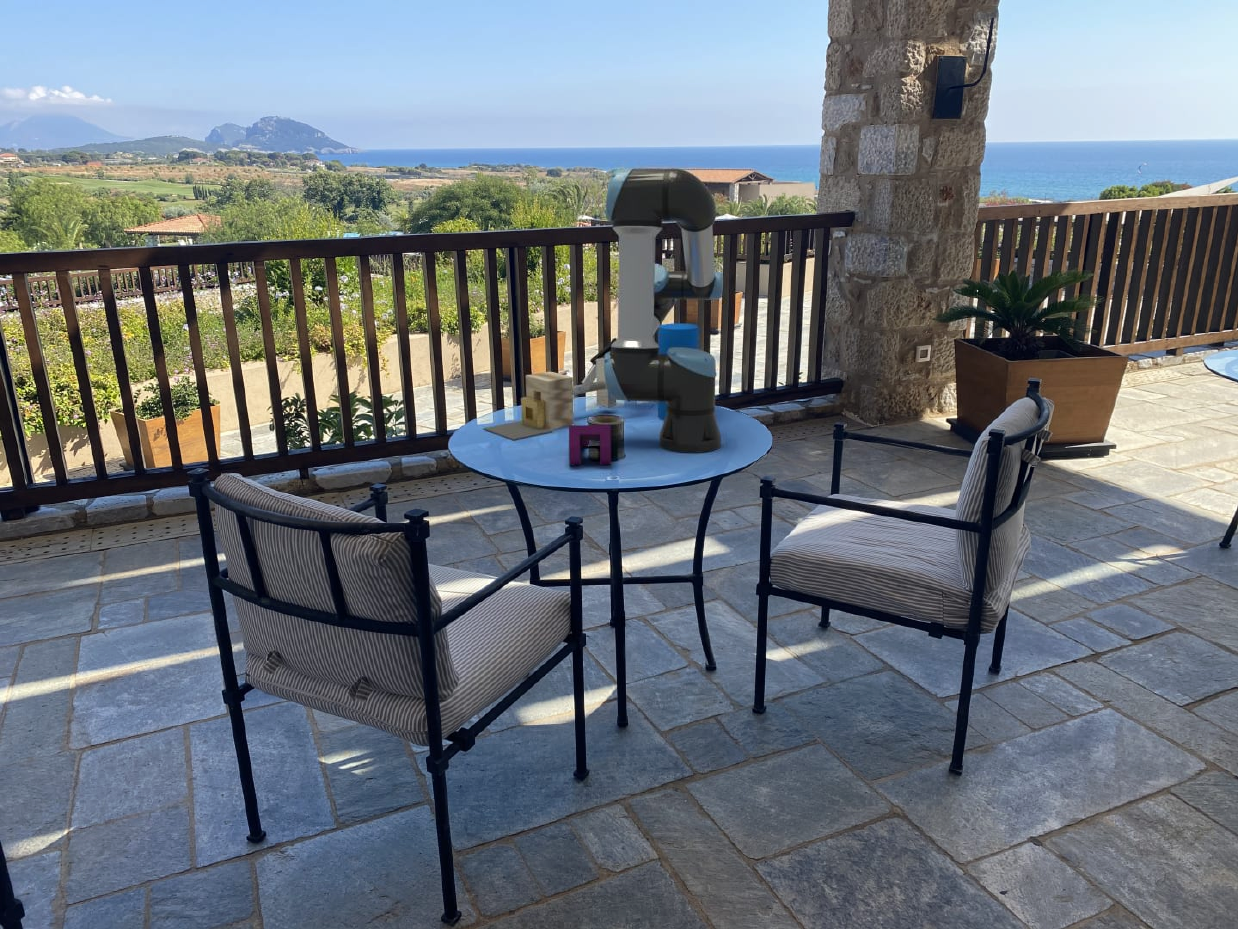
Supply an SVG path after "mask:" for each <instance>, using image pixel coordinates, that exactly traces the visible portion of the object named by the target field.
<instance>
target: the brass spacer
mask: <svg viewBox="0 0 1238 929" xmlns="http://www.w3.org/2000/svg"><path fill="white" fill-rule="evenodd" d="M520 404H521V406H520V407H521V408H520V410H521V420H522V424H523V425H526V426H529V427H531V428H534V429H537V430H538V429H543V428H545V406H544V401H542V400H539V399H535V398H532V397H529V396H528V397H526V396H524V397H521V398H520Z"/></svg>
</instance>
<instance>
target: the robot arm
mask: <svg viewBox="0 0 1238 929" xmlns="http://www.w3.org/2000/svg"><path fill="white" fill-rule="evenodd" d="M605 217H606V220H607V221H609V222H612V229H613V231H614V232H615V233H616V234H617V235H618V289H617V290H618V291H617V292H618V295H617V298H618V300H617V303H618V304H617V338H616V337H614V338H613V339H612V340H611V341H610V342H609V343H608V344H607V345H606V346H605V347H604V348H602V350H600V351H599V352H598V353H597V354H595V355H594V356H593V357H592V358H590V360H589V362H590V363H591V364H592V366H591V368H589V370H588V372H587V374H586V376H585V377H584V378H583V380H582V381H581V383H582V384H587V383H593V382H595V380H596V359H600V358H604V374H605V382H606V386H607V390H608V393H609V395H610V396H611V397H612V398H613V399H615V400H616V401H625V402H629V403H630V402H652V403H653V402H654V403H658V402H667V414H666V417H665V420H664V421H663V424H662V427H661V429H660V431H659V432H660V433H659V435H658V436H659V438H658V440H659V446H660V447H662V448H663V449H665V450H669V451H672V452H679V453H706V452H710V451H715V450H716V449H719V448H720V447H721V446H722V445H721V444H722V434H721V432H720V428H719V424H718V421H717V418H716V414H715V412H716V377H717V375H718V374H717V368H716V367H717V366H716V365H717V364H716V359H715V356H714V355H713V354H711V353H709V352H707V351H705V350H701V349H698V350H697V349H692V348H684V347H680V348H678V347H673V348H669V349H668V351H667V354H659V345H658V342H656V340H654V335H655V334H656V332H657V330H659V326H660V325H662V323H663V322H664V321H665V319H666V317H667V316H668V315H669V313H670V312H671V310H672V309H673V308H674V307H675V304H676V302H677V301H678V300H702V301H704V300H705V301H709V300H720V299H721V298H722V297H723V290H724V275H723V273H722V272H721V271H716V270H715V269H716V268H715V253H714V234H713V232H714V231H713V230H714V229H713V225H714V223H715V220H716V217H717V208H716V203H715V200H714V197H713V195H712V193H711V192H710V189H709V188H708V187H707V186H706V185H705V183H704V182H703V181H702V180H701V179H700V178H699V177H697V176H696V175H694V174H693V173H691V172H689V171H688V170H684V169H680V168H633V167H632V168H627V169H626V168H625V169H618V170H616V171H615V172H613V174H612V175H611V177H610V180H609V182H608V187H607V192H606V199H605ZM663 222H676V224H677V225H678V226H679V227H680V229H681V235H682V236H681V238H682V245H683V255H684V264H685V270H684V271H683V270H681V271H680V270H679V271H678V270H676V271H675V270H674V271H673V270H668V269H667V268H666V267H665V266H664V265H662V264H659V263H656V237H657V235H658V234H659V233H660V232H661V231H663Z"/></svg>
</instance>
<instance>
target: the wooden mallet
mask: <svg viewBox="0 0 1238 929" xmlns="http://www.w3.org/2000/svg"><path fill="white" fill-rule="evenodd" d="M595 361H596V379H595V380H596V381H594V382H593V383H587V384H583V383H582V384H579V385H578V384H577V385H573V396H575V395H580V394H581V395H582V394H587V393H591V392H596V405H597V406H600V407H603V408H607V409H609V408H614V407H616V406H617V400H615V399H613V398H612V397H611V396H610V395H609V393H608V390H607V386H606V382H605V374H604V358H600V359H596V360H595Z"/></svg>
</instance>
